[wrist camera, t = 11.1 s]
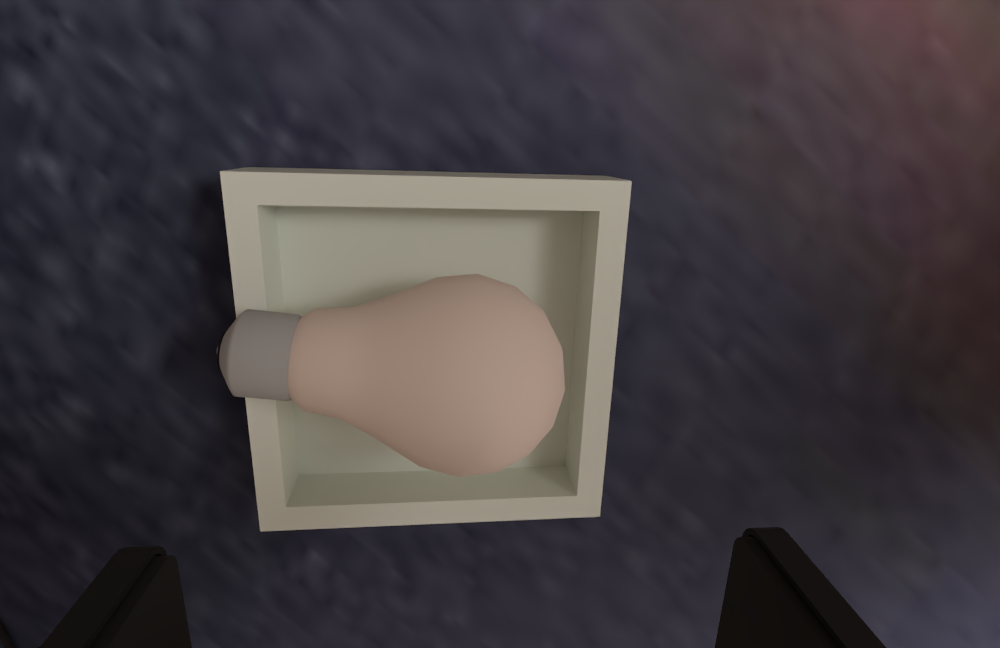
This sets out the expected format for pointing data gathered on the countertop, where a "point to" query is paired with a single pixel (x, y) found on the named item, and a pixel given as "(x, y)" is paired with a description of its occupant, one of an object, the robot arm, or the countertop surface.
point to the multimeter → (5, 638)
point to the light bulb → (413, 370)
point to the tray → (401, 265)
